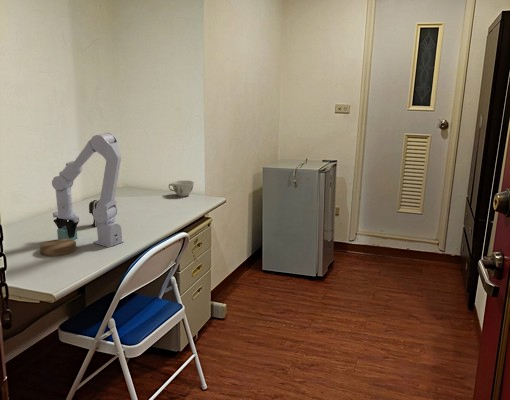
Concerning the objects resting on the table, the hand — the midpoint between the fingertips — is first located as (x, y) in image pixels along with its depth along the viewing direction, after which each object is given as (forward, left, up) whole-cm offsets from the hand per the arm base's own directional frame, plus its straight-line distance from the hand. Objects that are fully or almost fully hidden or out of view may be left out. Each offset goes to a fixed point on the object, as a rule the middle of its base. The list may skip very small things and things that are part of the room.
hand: (67, 236), depth 196 cm
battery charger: (+8, -21, -2) cm, 23 cm away
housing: (0, 0, -2) cm, 2 cm away
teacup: (+16, -88, -2) cm, 89 cm away
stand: (-8, +10, -2) cm, 13 cm away
